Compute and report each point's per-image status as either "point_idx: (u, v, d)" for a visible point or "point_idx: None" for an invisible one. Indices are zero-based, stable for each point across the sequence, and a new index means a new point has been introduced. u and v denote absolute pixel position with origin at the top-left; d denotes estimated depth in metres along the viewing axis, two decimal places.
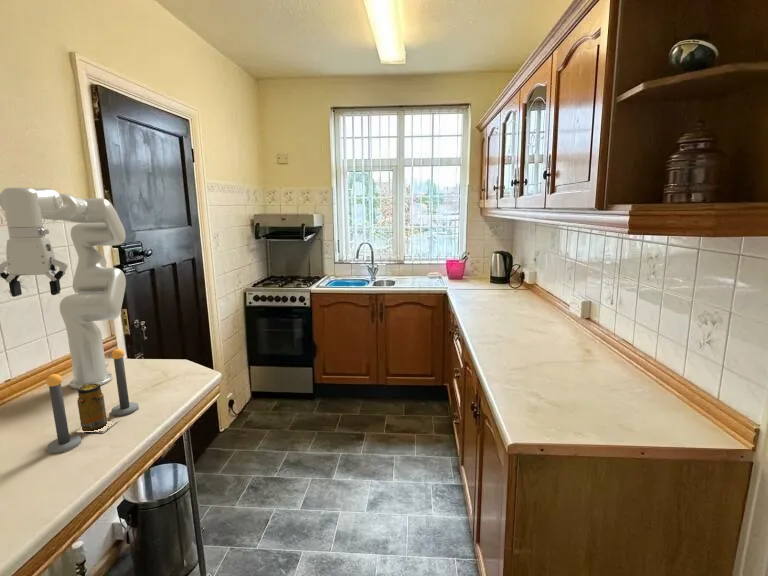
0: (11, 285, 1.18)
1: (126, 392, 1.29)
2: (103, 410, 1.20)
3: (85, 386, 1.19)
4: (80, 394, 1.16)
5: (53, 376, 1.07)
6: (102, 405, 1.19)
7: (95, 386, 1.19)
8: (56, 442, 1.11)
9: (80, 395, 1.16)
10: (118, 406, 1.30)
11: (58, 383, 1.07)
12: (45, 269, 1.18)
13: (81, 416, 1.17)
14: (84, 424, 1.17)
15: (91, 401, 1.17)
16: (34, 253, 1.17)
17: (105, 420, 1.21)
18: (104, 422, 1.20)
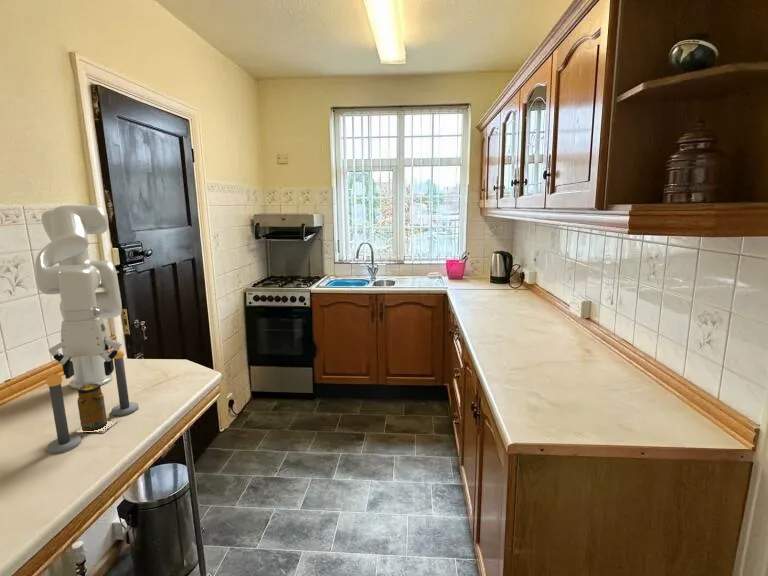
0: (65, 367, 1.14)
1: (126, 392, 1.29)
2: (103, 410, 1.20)
3: (85, 386, 1.19)
4: (80, 394, 1.16)
5: (53, 376, 1.07)
6: (102, 404, 1.19)
7: (95, 386, 1.19)
8: (56, 442, 1.11)
9: (80, 395, 1.16)
10: (118, 406, 1.30)
11: (58, 383, 1.07)
12: (100, 350, 1.15)
13: (81, 416, 1.17)
14: (84, 424, 1.17)
15: (91, 401, 1.17)
16: (89, 335, 1.13)
17: (105, 420, 1.21)
18: (104, 422, 1.20)
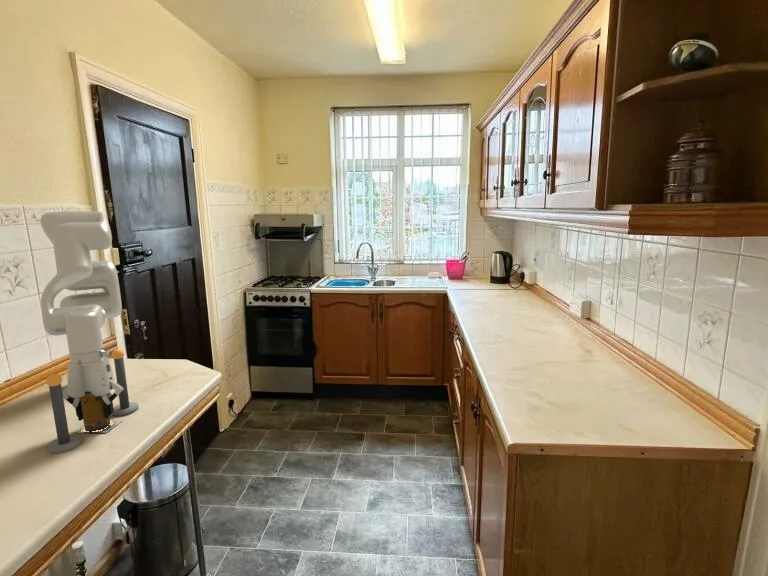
0: (78, 410, 1.17)
1: (126, 392, 1.29)
2: None
3: None
4: None
5: (53, 376, 1.07)
6: None
7: None
8: (56, 442, 1.11)
9: None
10: (118, 406, 1.30)
11: (58, 383, 1.07)
12: (105, 391, 1.17)
13: (84, 416, 1.17)
14: (86, 424, 1.17)
15: (93, 401, 1.17)
16: (95, 376, 1.16)
17: (108, 420, 1.21)
18: (107, 422, 1.20)
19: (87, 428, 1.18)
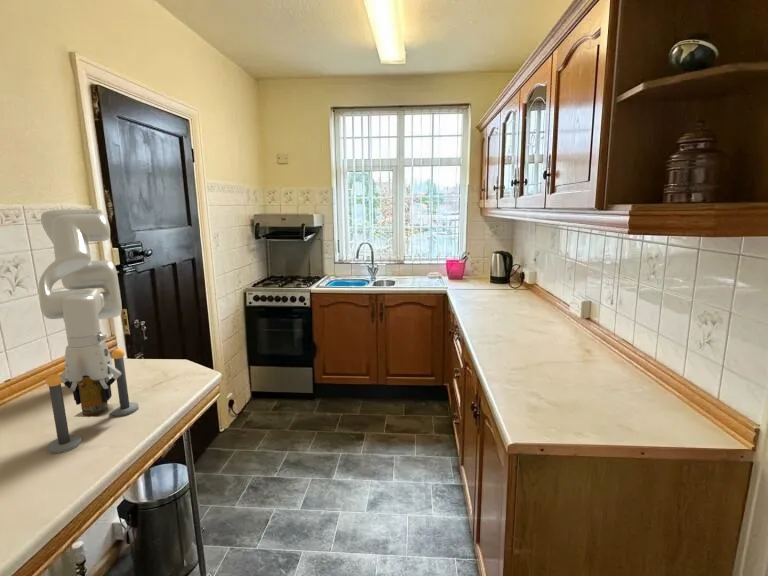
0: (75, 394, 1.17)
1: (126, 392, 1.29)
2: None
3: None
4: None
5: (53, 376, 1.07)
6: None
7: None
8: (56, 442, 1.11)
9: None
10: None
11: (58, 383, 1.07)
12: (103, 375, 1.17)
13: (82, 400, 1.17)
14: (84, 408, 1.17)
15: (91, 385, 1.16)
16: (92, 360, 1.15)
17: (106, 404, 1.20)
18: (105, 406, 1.20)
19: (85, 412, 1.17)
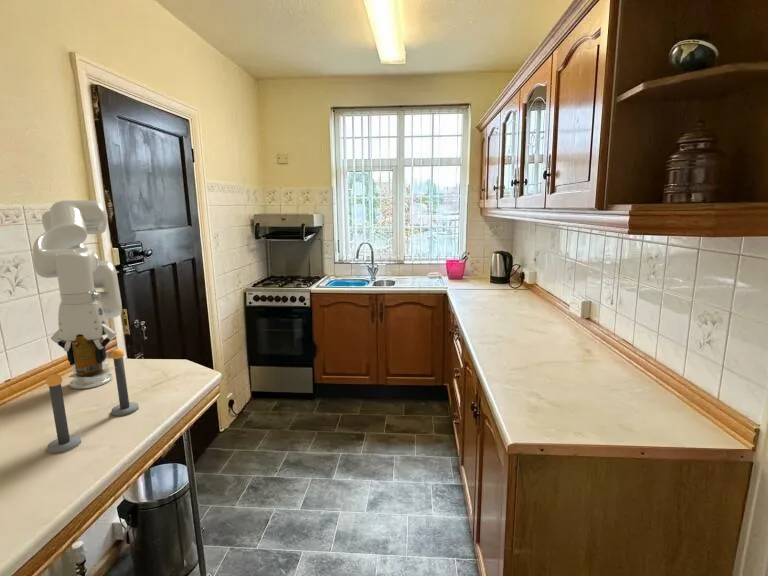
0: (69, 354, 1.14)
1: (126, 392, 1.29)
2: None
3: None
4: None
5: (53, 376, 1.07)
6: None
7: None
8: (56, 442, 1.11)
9: None
10: (118, 406, 1.30)
11: (58, 383, 1.07)
12: (98, 334, 1.14)
13: (76, 360, 1.14)
14: (78, 368, 1.14)
15: (85, 344, 1.14)
16: (87, 319, 1.13)
17: (100, 366, 1.18)
18: (99, 368, 1.17)
19: (79, 373, 1.15)
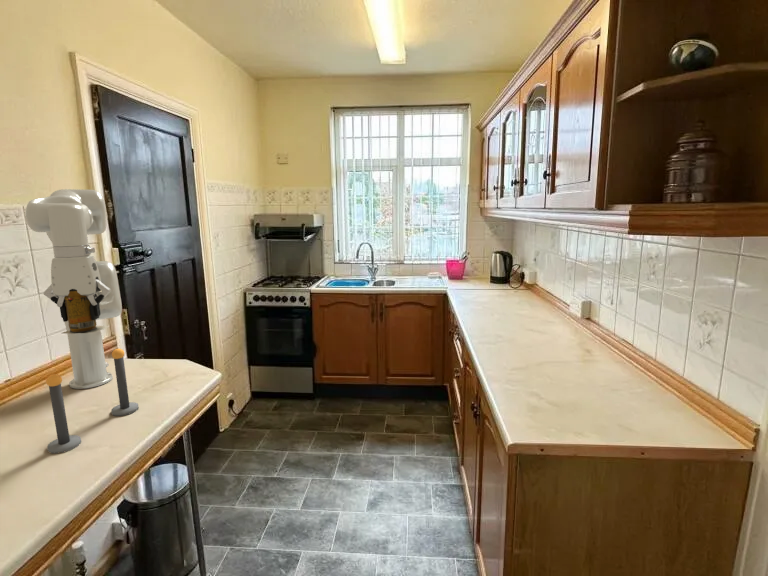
0: (62, 310, 1.12)
1: (127, 392, 1.29)
2: None
3: None
4: None
5: (53, 376, 1.07)
6: None
7: None
8: (56, 442, 1.11)
9: None
10: (118, 406, 1.30)
11: (58, 383, 1.07)
12: (91, 290, 1.12)
13: (69, 316, 1.12)
14: (71, 325, 1.12)
15: (79, 300, 1.11)
16: (80, 273, 1.10)
17: (94, 323, 1.15)
18: (93, 325, 1.15)
19: (72, 329, 1.12)
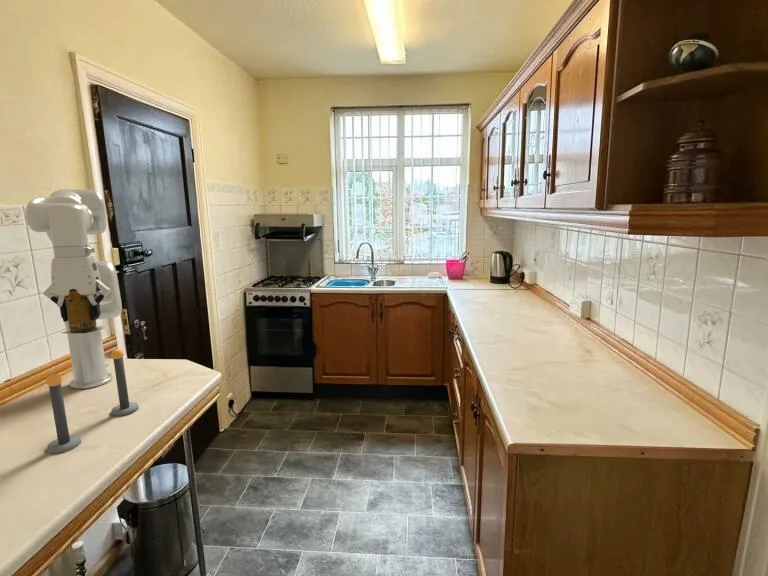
0: (62, 310, 1.12)
1: (126, 392, 1.29)
2: None
3: None
4: None
5: (53, 376, 1.07)
6: None
7: None
8: (56, 442, 1.11)
9: None
10: (118, 406, 1.30)
11: (58, 383, 1.07)
12: (91, 290, 1.12)
13: (69, 316, 1.12)
14: (71, 325, 1.12)
15: (79, 300, 1.11)
16: (80, 273, 1.10)
17: (94, 323, 1.15)
18: (93, 325, 1.15)
19: (72, 329, 1.12)
